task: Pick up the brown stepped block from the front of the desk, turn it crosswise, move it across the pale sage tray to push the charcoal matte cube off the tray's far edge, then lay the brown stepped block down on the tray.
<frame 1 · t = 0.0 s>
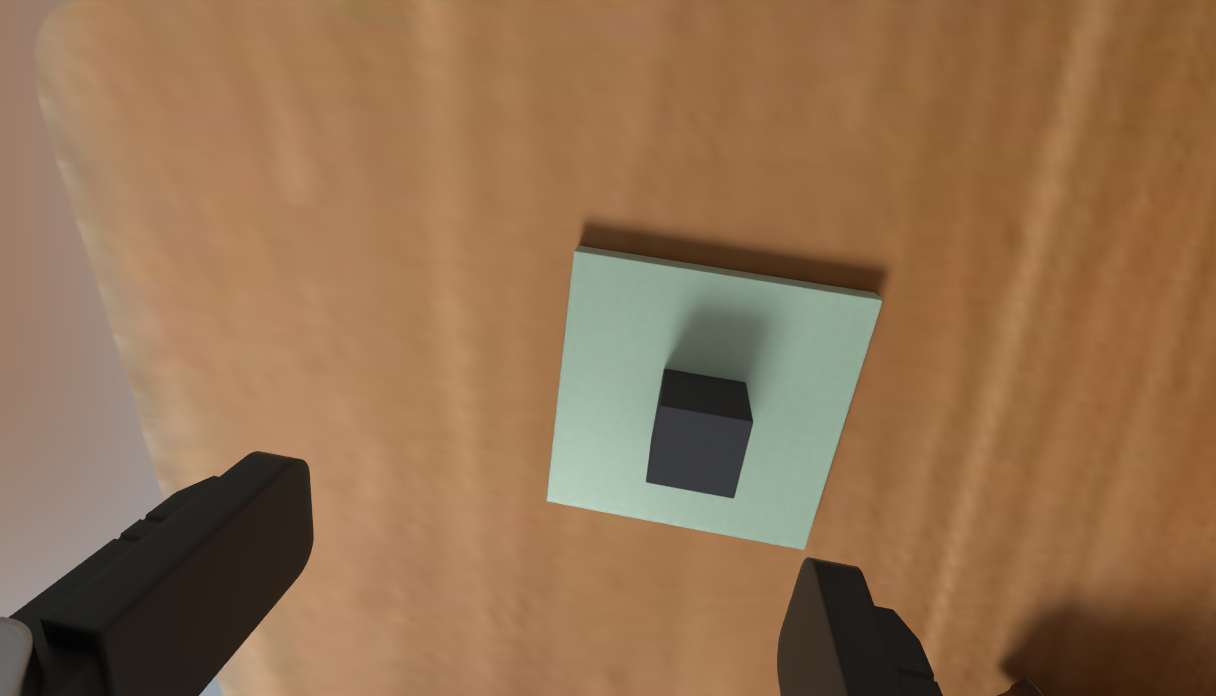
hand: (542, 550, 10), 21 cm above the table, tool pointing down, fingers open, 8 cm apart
charcoal matte cube: (697, 411, 31), point 1 cm above the table, touching tray
tray: (697, 400, 32), on the table
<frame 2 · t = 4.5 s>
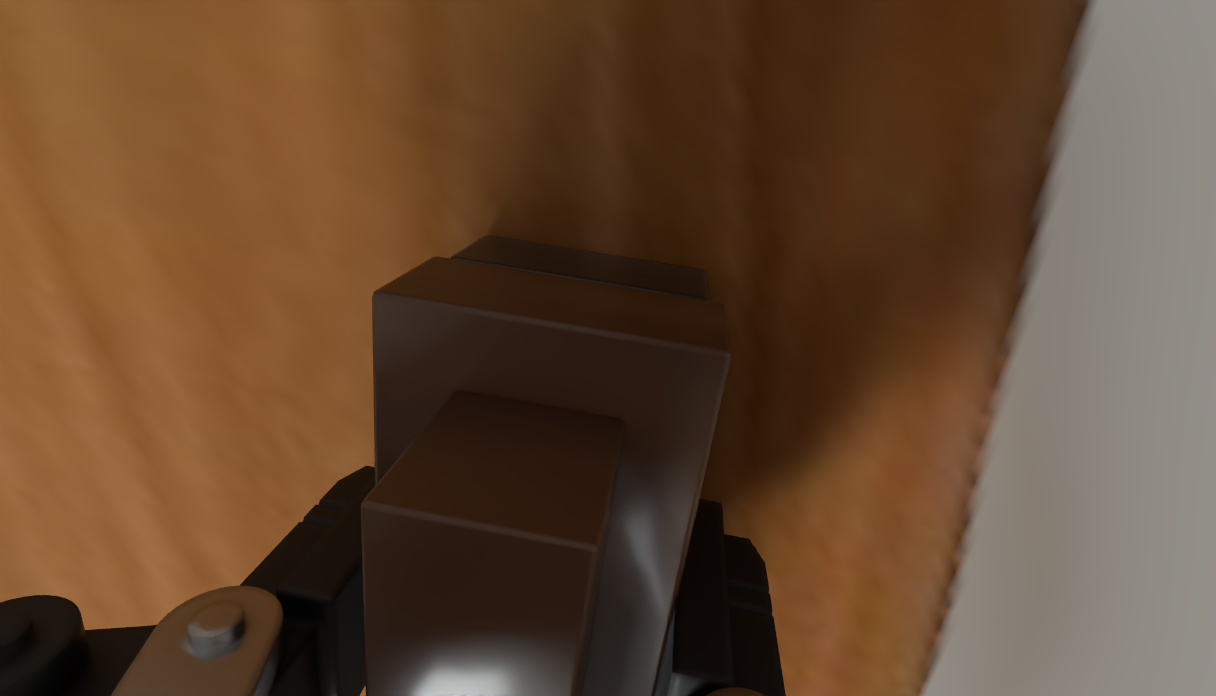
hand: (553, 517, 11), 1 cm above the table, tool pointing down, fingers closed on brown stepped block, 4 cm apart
brown stepped block: (565, 488, 11), on the table, touching gripper
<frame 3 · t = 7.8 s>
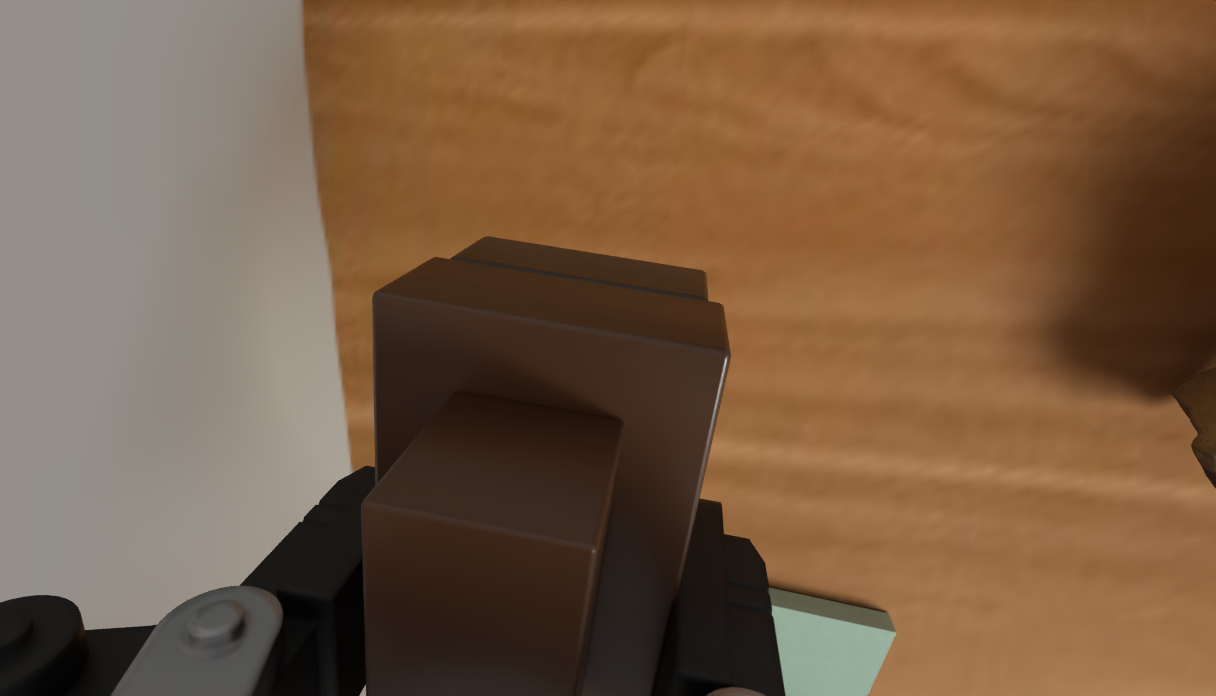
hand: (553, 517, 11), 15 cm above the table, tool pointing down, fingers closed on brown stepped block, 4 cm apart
tray: (710, 684, 32), on the table
brown stepped block: (565, 488, 11), point 15 cm above the table, touching gripper
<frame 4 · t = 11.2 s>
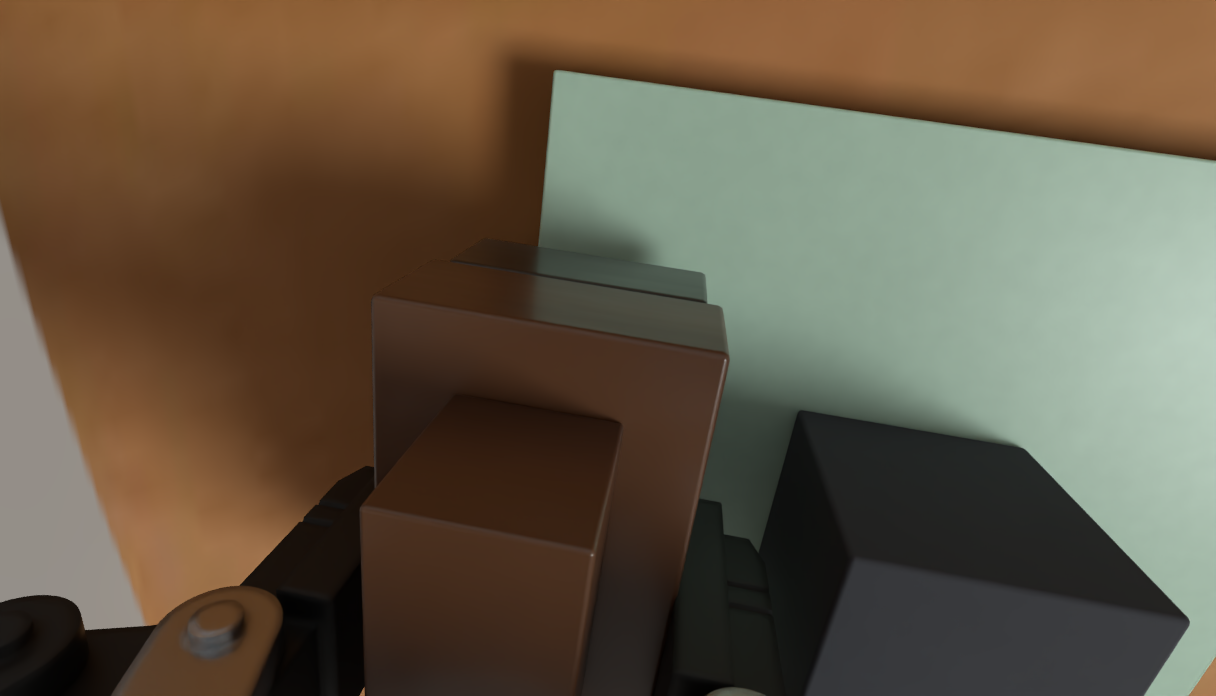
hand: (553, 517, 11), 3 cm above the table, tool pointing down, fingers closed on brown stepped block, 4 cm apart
charcoal matte cube: (877, 517, 12), point 1 cm above the table, touching gripper, tray
tray: (861, 482, 13), on the table
brown stepped block: (564, 490, 11), point 2 cm above the table, touching gripper
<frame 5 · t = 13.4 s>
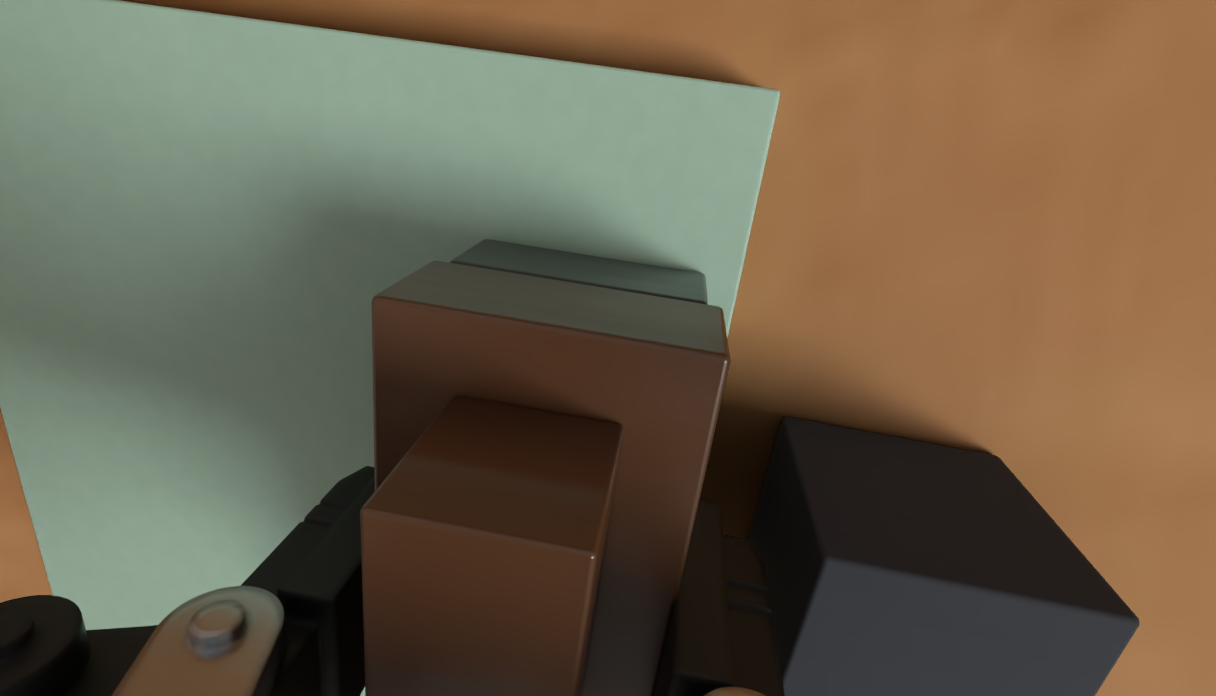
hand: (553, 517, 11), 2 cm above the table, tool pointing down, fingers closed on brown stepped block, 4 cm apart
charcoal matte cube: (768, 570, 11), point 2 cm above the table, tilted 90°, touching gripper
tray: (357, 407, 13), on the table
brown stepped block: (564, 490, 11), point 1 cm above the table, touching gripper
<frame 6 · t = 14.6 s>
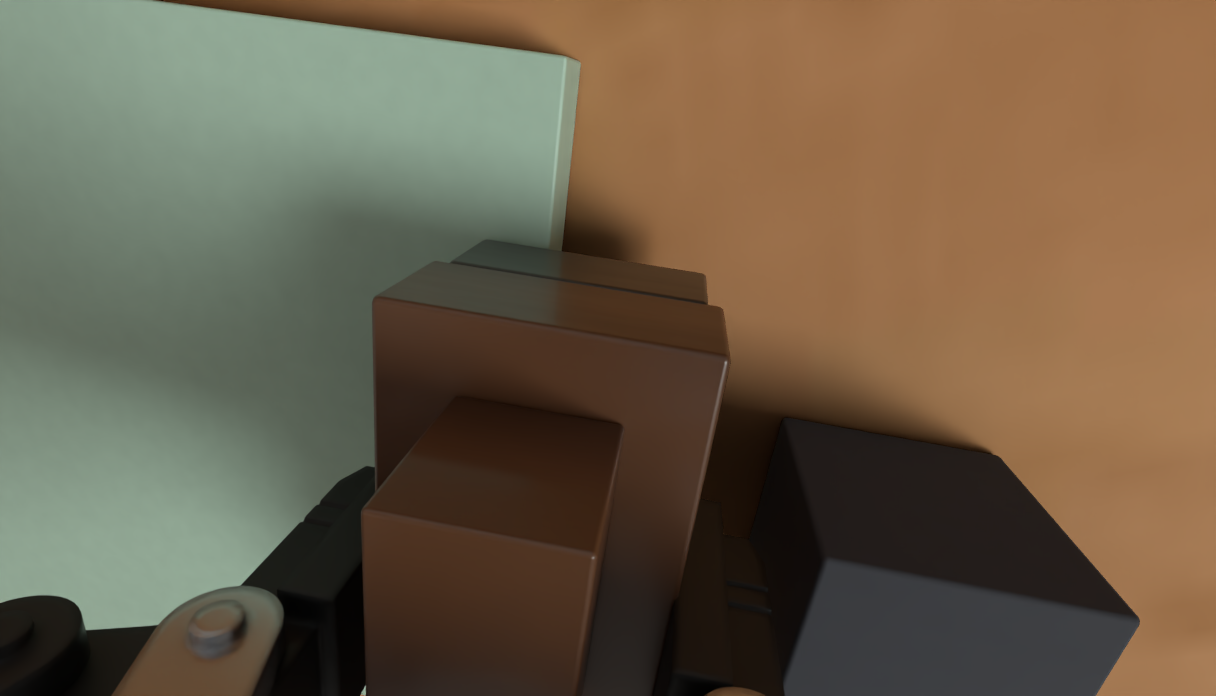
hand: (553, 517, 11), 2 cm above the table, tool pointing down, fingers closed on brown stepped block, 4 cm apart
charcoal matte cube: (769, 571, 11), point 2 cm above the table, tilted 90°, touching gripper
tray: (221, 378, 13), on the table
brown stepped block: (564, 490, 11), point 1 cm above the table, touching gripper
when the fingers open (2 cm above the table, at t = 19.2 s): brown stepped block stays where it is, resting on tray.
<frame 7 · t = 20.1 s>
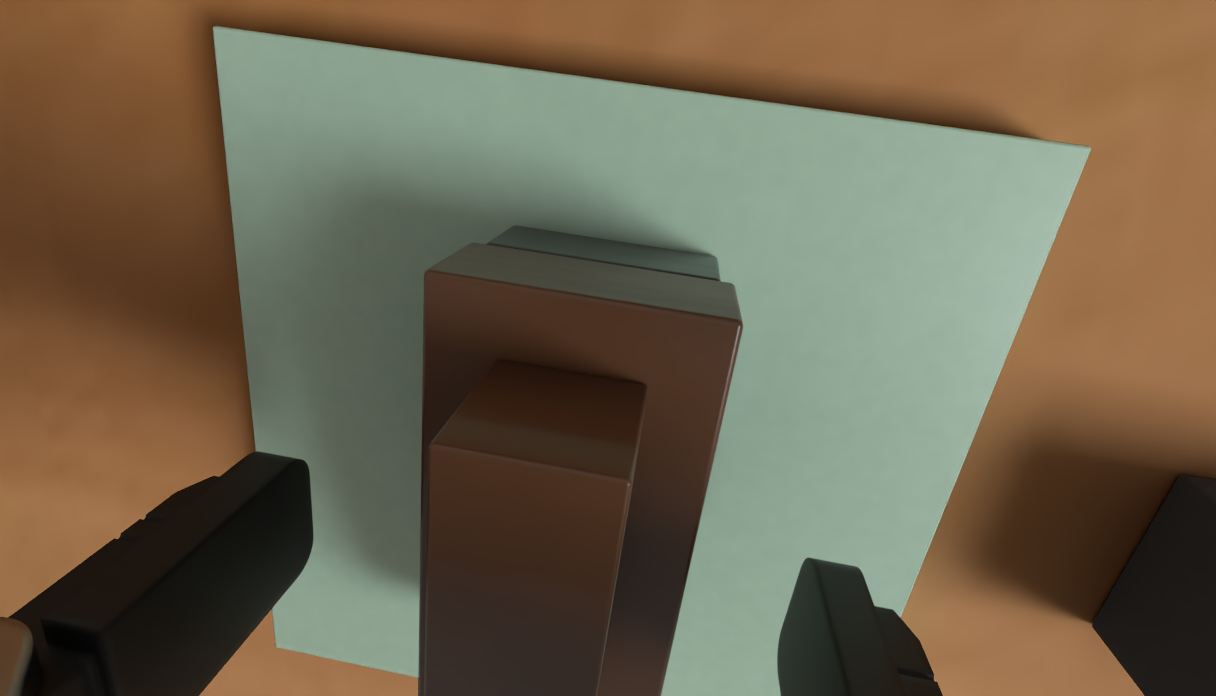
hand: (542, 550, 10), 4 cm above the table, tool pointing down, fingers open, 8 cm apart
charcoal matte cube: (1204, 628, 11), point 2 cm above the table, tilted 90°
tray: (588, 432, 13), on the table
brown stepped block: (585, 461, 12), point 1 cm above the table, touching tray
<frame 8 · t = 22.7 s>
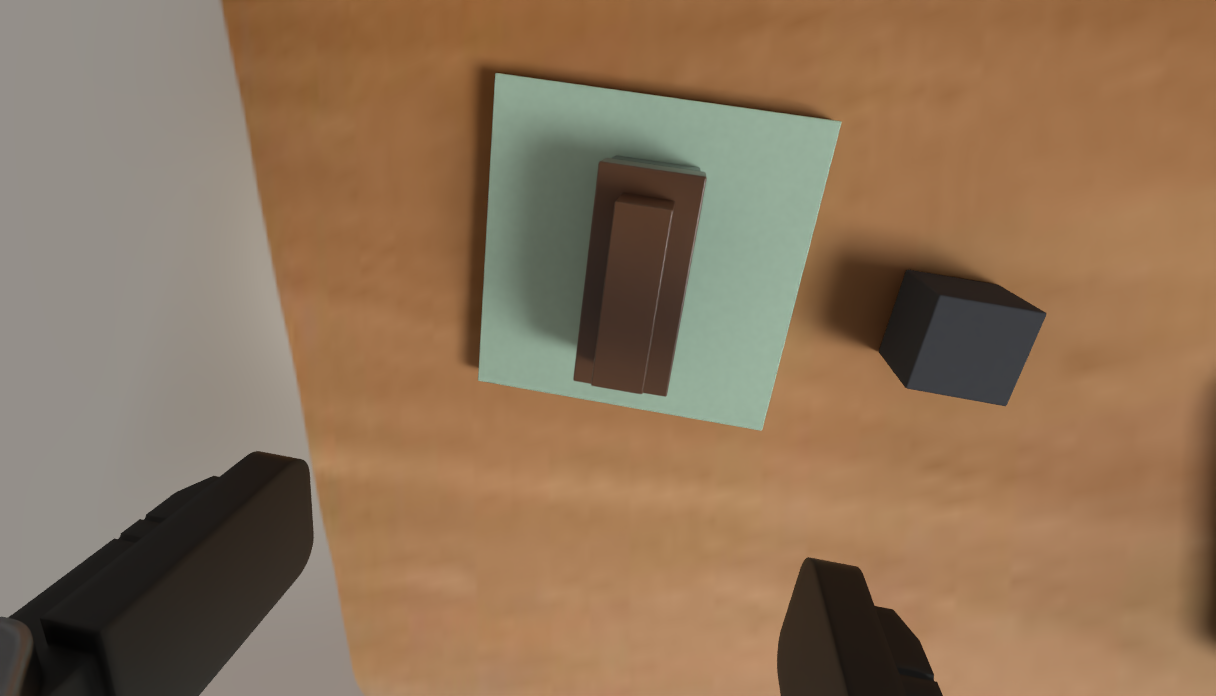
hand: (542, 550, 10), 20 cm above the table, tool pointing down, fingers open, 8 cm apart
charcoal matte cube: (905, 326, 26), point 2 cm above the table, tilted 90°
tray: (641, 259, 28), on the table
brown stepped block: (641, 266, 27), point 1 cm above the table, touching tray
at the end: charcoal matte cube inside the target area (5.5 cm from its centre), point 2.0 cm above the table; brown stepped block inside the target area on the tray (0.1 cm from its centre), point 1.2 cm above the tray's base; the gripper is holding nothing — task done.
